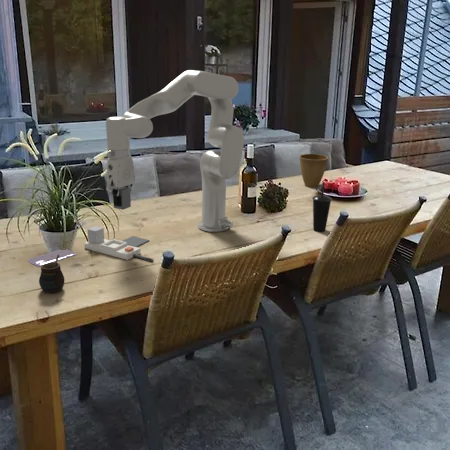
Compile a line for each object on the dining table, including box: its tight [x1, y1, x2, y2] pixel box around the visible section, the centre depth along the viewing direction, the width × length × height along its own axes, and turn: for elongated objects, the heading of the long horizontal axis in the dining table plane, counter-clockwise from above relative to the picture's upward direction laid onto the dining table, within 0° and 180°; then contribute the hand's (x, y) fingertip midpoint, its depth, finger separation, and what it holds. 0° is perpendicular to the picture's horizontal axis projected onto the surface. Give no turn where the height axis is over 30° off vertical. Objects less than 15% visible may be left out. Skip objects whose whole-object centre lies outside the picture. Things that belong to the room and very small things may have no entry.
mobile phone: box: [27, 248, 77, 267], centre depth 178 cm, size 8×1×15 cm
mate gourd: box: [38, 255, 65, 294], centre depth 154 cm, size 7×8×10 cm
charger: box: [113, 187, 132, 211], centre depth 183 cm, size 4×4×7 cm
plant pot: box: [299, 153, 329, 188], centre depth 276 cm, size 15×15×16 cm
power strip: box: [84, 225, 155, 263], centre depth 182 cm, size 28×7×7 cm, turn 60°
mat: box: [122, 235, 150, 248], centre depth 194 cm, size 8×8×1 cm
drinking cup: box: [312, 182, 332, 233], centre depth 208 cm, size 8×8×20 cm
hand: (122, 203), depth 184 cm, fingers closed on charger, 4 cm apart
